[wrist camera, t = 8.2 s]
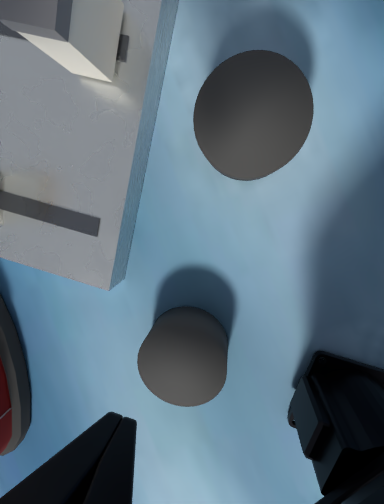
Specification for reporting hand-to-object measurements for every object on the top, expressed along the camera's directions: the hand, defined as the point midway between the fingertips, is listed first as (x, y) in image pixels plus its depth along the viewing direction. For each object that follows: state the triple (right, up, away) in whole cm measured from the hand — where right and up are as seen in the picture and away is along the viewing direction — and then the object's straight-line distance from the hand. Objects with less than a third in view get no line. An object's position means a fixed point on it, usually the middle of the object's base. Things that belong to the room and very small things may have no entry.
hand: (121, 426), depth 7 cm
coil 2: (+5, +13, +9) cm, 16 cm away
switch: (-3, +16, +6) cm, 18 cm away
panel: (-8, +13, +11) cm, 19 cm away
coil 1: (+2, -2, +13) cm, 13 cm away
